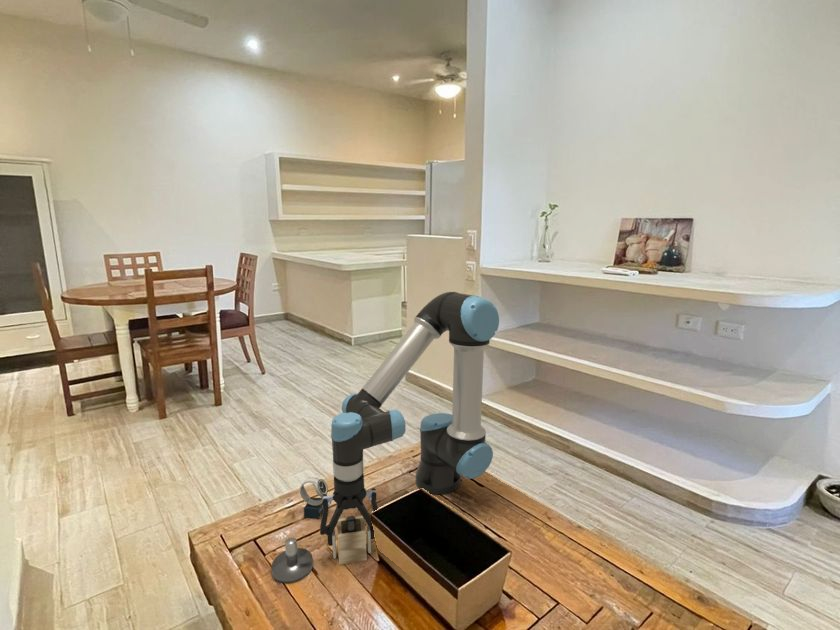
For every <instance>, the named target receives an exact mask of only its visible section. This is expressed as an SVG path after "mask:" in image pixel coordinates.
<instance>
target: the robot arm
mask: <svg viewBox="0 0 840 630" xmlns="http://www.w3.org/2000/svg"><path fill="white" fill-rule="evenodd" d="M413 322H414V323H413V324H412V326H411V327H410V329H408V331H406V333H405V334H404V336H403V337H402V338H401V340H399V342H398V343H397V344H396V346H395V347H394V348H393V349H392V351H391V352H390V353H389V354H388V355H387V357H386V358H385V359H384V361H383V362H382V363H381V364H380V366H378V368H377V369H376V370H375V372H374V373H373V374H372V375H371V377H370V378H369V379H368V381H366V383H365V384H364V385H363V386H362V388H361V389H360V390H359V392H358V393H351V394H349V395H347V396H346V397H345V398H344V399H343V401H342V404H341V411H342V413H339V414H336V416H334V417H333V418H332V420H331V431H330V438H331V448H332V469H333V470H332V471H333V489H334V491H333V492H332V494H330V495H328V494H327V495H326V494H324V495H323V512H322V514H321V521H320V526H319V534H320V535H321V536H323V535H326V536H327V545H328V547H330V546H332V558H333V559H337V546H336V545H337V544H336V527H337V522H338V520H339V519H341V515H342V514H343V512H344V510H345V511H346V510H349V509H357V511H358V512H359V513H360V514H361V516H363V518H364V522H365V524H366V548H367V553H368V554H371V553H372V544H371V543H372V540H375V538H376V536H375V537H374V530H373V526H372V523H371V517H372V516H371V514H370V513H369V510H368V509H367V508H366V506H365V504H364V502H363V501H364V499H365V498H366V497H367V499H368V500H369V501H370V502H371V507H372V510H373V511H372V512H373V513H374V511H375V510H377V509H378V510H379V507H378V503H377V497H378V496H377V495H378V494H377V490H376V488H371V489H370V490H369V489H368V490H367V489H366V488H365V473H364V469H365V468H364V450H366V449H370V448H372V447H375V446H380V445H382V444H386V443H388V442H393V441H394V440H398V439H399V438H401V437H403V436H404V435H405V432H406V429H407V428H406V420H405V417H404V416H403V414H402V412H401V411H400V410H398V409H391V410H390V409H389V410H387V411H385V410H383V409H381V407H382V406H383V404H384V403H385V402H386V400H388V398H389V397H390V395H391V394H392V393H393V392H394V390H395V389H396V387H397V386H399V384H400V383H401V382H402V380H403V379H404V378H405V377H406V375H407V374H408V373H409V371H410V370H411V369H412V367H413V366H414V365H415V364H416V362H417V361H418V360H419V359H420V357H421V356H422V355H423V353H425V351H427V348H428V347H429V346H430V344H432V342H433V341H434V340H437V339H439V338H441V336H442V335H443V334H444V333H445V332H448V342H449V344H450V345H451V346H452V347H453V370H452V371H453V373H452V374H453V376H452V377H453V380H452V381H453V382H452V410H451V411H452V412H451V414H450V413H444V412H440V413H439V412H438V413H432V414H428V415H426V416H424V417H423V418H422V419H421V421H420V428H419V432H420V433H419V434H420V439H419V440H420V460H419V463H418V467H417V468H416V469H417V470H416V472H415V484H416V486H417V487H418V488H419V489H420V488H424V489H425V490H427V491H429V492H430V493H429V494H431V493H432V495H445V494H449V493H452V492H455V491H456V490H457V489H458V488H460V485H461V483H462V482H461V481H462V477H464V478H465V479H470V480H471V479H473V480H474V479H477V478H479V477H481V476H482V475H483V474H484V473H485V472H486V471H487V470H488V468H489V467H490V465H491V463H492V460H493V457H494V451H493V448H492V446H491V445H490V444H489V443H487V442H486V436H487V435H486V434H487V432H486V429H485V428H484V426H482V408H483V407H482V403H483V402H482V401H483V381H484V380H483V379H484V356H485V355H484V354H485V353H484V350H485V348H487V347H488V346H489V345H490V340H491V339H492V338H494V336H495V335H496V332H497V331H498V330H499V325H500V316H499V312H498V308H497V307H496V305H494V304H493V302H492V301H490V300H489V299H488V298H483V297H481V296H479V295H472V294H466V293H461V292H456V291H446V292H443V293H441V294H439V295H437V296H435V297H434V298H432V299H431V300H430V301H429V302H428V303H427V304H425V306H423V308H422V309H421V310H420V311H419V312H418V313H417V315H416V316H415V317H414V318H413ZM332 501H334V502H335V504H336V507H335V510H334V512H333V515H332V516H331V519H330V521H329V523H328V525H327V521H328V514H329V511H330V509H329V506H331V504H332ZM370 516H371V517H370Z"/></svg>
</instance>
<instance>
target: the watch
mask: <svg viewBox="0 0 840 630" xmlns="http://www.w3.org/2000/svg"><path fill="white" fill-rule="evenodd" d="M308 483H309V484H312V486H313V487H314V491H315V493H316V495H317V496H319V497H314V496H313V497H311V496H310V495H309V494H308V492H307V490H306V488H305V486H304V485H306V484H308ZM328 491H329V487H328V484H327V483H326V481H325V480H324V479H323V478H319V477H308V478H306V479H305V480H304V481H303V482H302V484H301V486H300V487H299V493H300V494H299V495H300V496H301V499H302V500H303V501H304V503H306V504H305V506H304V508H303V514H304V515H303V516H304V519H315V520H319V519H320V517H322V512H323V495H324V494H326V495H327V496H328Z"/></svg>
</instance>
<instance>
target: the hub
mask: <svg viewBox="0 0 840 630" xmlns="http://www.w3.org/2000/svg"><path fill="white" fill-rule="evenodd" d="M313 559H314V558H313V555H312V553H311V552H310V550H309V549H306V548H302V547H298V544H297V538H295V537H289V538H287V539H285V542H284V551H282V552H280V553H279V554H278V555H277V556H275V557H274V559H273V561H272V563H271V565H270V567H271V575H272V578H273V579H274V580H275V581H276V582H278V583H280V584H293V583H296V582H299V581H301V580H303V579H305V578H306V577H307V576H308V575H309V574H310V573H311V572H312V569H313V567H314V560H313Z"/></svg>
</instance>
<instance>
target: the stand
mask: <svg viewBox="0 0 840 630" xmlns="http://www.w3.org/2000/svg"><path fill="white" fill-rule="evenodd" d="M355 517H356V516H354V515H349V516H347V517H345V518H346V529H347V533H351V532H356V520H355Z"/></svg>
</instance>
